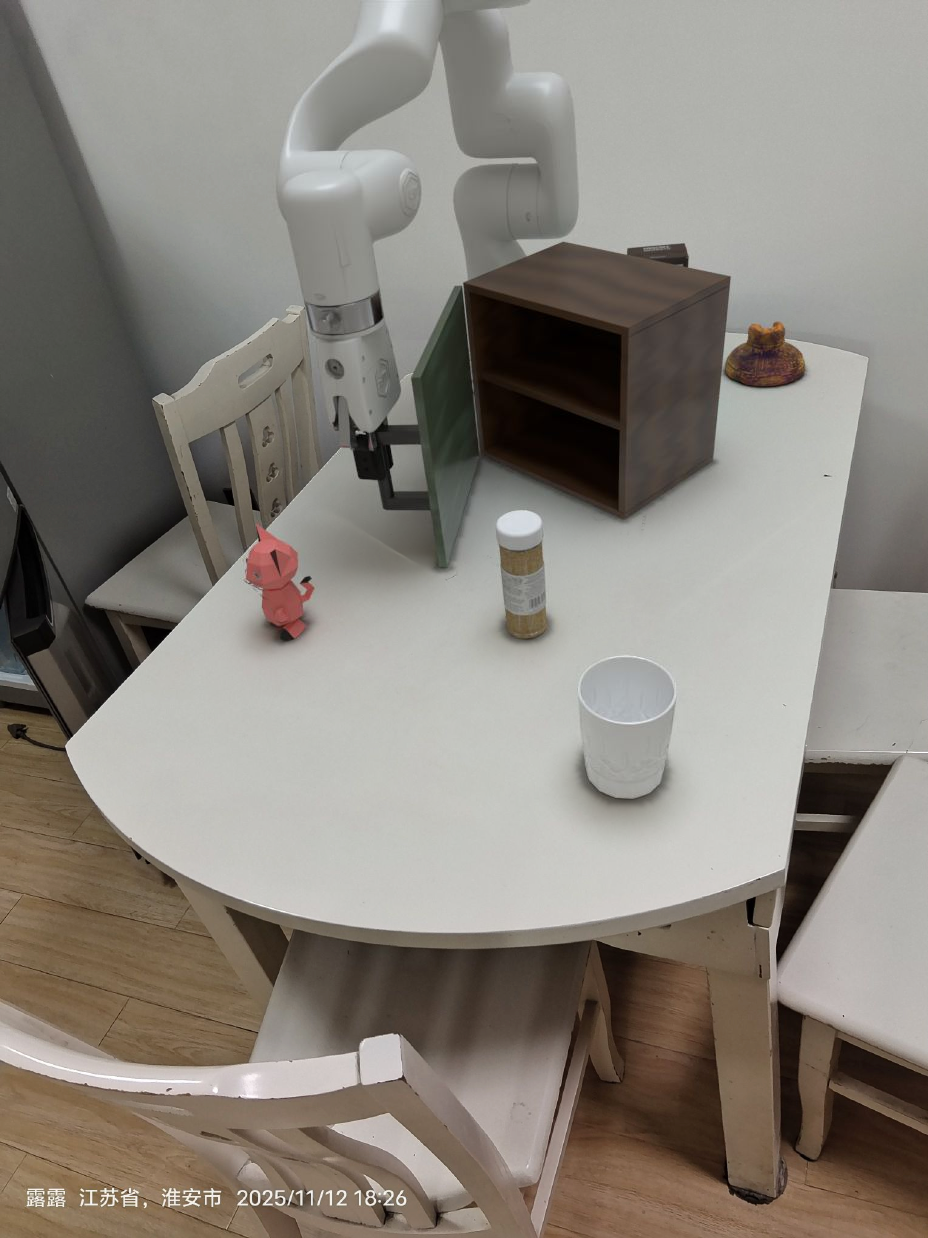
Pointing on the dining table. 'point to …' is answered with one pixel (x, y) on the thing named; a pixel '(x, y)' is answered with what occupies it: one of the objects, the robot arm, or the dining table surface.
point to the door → (439, 429)
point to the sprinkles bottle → (522, 572)
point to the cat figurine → (278, 583)
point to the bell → (765, 358)
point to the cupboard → (598, 371)
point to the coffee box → (663, 253)
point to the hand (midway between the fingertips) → (376, 471)
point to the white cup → (626, 723)
